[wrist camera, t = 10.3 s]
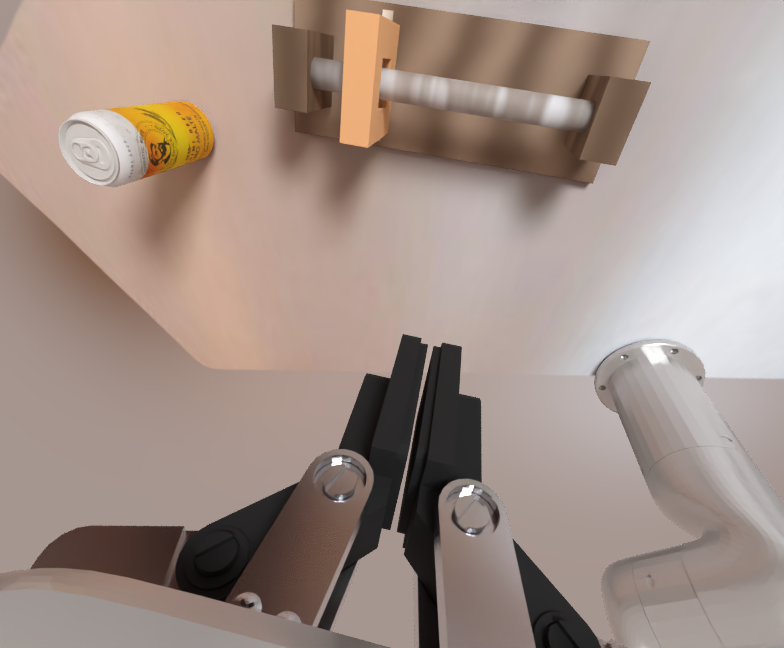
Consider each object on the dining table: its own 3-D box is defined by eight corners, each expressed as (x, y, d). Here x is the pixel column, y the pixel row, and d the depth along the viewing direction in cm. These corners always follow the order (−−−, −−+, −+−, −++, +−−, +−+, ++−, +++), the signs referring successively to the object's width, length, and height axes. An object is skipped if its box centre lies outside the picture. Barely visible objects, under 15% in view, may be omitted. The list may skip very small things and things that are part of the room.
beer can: (220, 162, 47) (129, 195, 35) (173, 153, 48) (67, 183, 36) (214, 105, 44) (111, 120, 32) (163, 96, 45) (42, 107, 32)
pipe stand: (646, 41, 35) (686, 35, 28) (590, 181, 41) (612, 203, 35) (297, -10, 37) (258, -26, 31) (297, 130, 44) (265, 141, 37)
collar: (400, 25, 36) (379, 14, 28) (388, 133, 41) (368, 147, 34) (373, 21, 36) (346, 9, 29) (364, 129, 41) (339, 142, 34)
